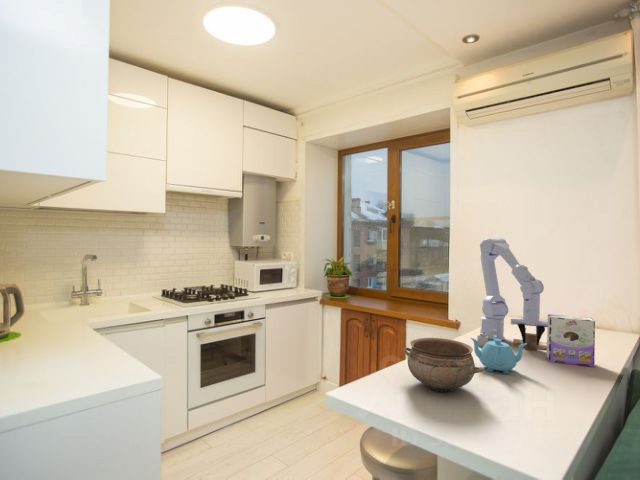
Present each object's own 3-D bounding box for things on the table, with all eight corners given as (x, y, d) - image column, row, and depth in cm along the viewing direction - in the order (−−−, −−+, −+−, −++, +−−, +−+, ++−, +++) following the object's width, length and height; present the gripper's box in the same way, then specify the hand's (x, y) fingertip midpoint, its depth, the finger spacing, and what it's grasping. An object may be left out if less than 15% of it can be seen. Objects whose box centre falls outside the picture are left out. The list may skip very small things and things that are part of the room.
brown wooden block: (525, 349, 150) (525, 334, 150) (522, 344, 158) (522, 329, 158) (536, 350, 148) (537, 335, 148) (533, 345, 156) (533, 330, 156)
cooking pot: (386, 383, 113) (386, 342, 113) (419, 368, 126) (420, 332, 126) (467, 412, 95) (468, 364, 95) (496, 391, 108) (497, 349, 108)
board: (515, 346, 154) (515, 342, 154) (513, 342, 160) (513, 338, 160) (557, 350, 149) (557, 346, 149) (554, 346, 155) (554, 343, 154)
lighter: (477, 345, 154) (477, 326, 154) (478, 345, 155) (479, 325, 155) (495, 349, 149) (495, 329, 149) (496, 348, 150) (497, 329, 150)
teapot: (499, 378, 118) (499, 346, 118) (467, 365, 130) (467, 336, 130) (527, 373, 123) (528, 342, 123) (494, 360, 136) (494, 332, 135)
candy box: (590, 362, 135) (591, 317, 135) (594, 367, 130) (596, 320, 130) (546, 356, 141) (547, 313, 141) (548, 361, 136) (549, 316, 136)
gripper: (512, 310, 149) (511, 344, 149) (554, 313, 144) (553, 348, 144) (510, 307, 156) (509, 339, 156) (550, 310, 151) (549, 344, 151)
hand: (530, 343), depth 151 cm, fingers closed on brown wooden block, 4 cm apart
